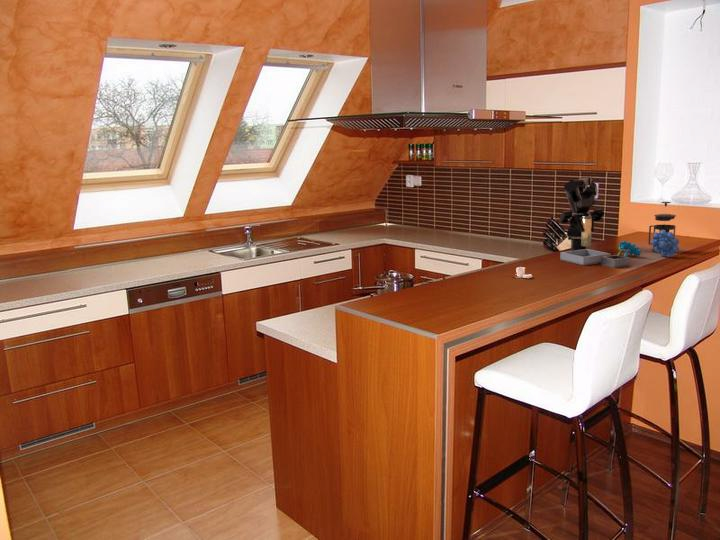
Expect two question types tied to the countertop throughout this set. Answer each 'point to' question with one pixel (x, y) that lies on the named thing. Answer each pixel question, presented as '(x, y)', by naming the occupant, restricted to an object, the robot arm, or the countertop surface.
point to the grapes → (665, 243)
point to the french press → (662, 227)
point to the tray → (583, 256)
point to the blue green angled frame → (628, 249)
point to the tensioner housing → (615, 261)
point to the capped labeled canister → (586, 231)
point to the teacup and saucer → (522, 272)
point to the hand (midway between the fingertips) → (588, 231)
